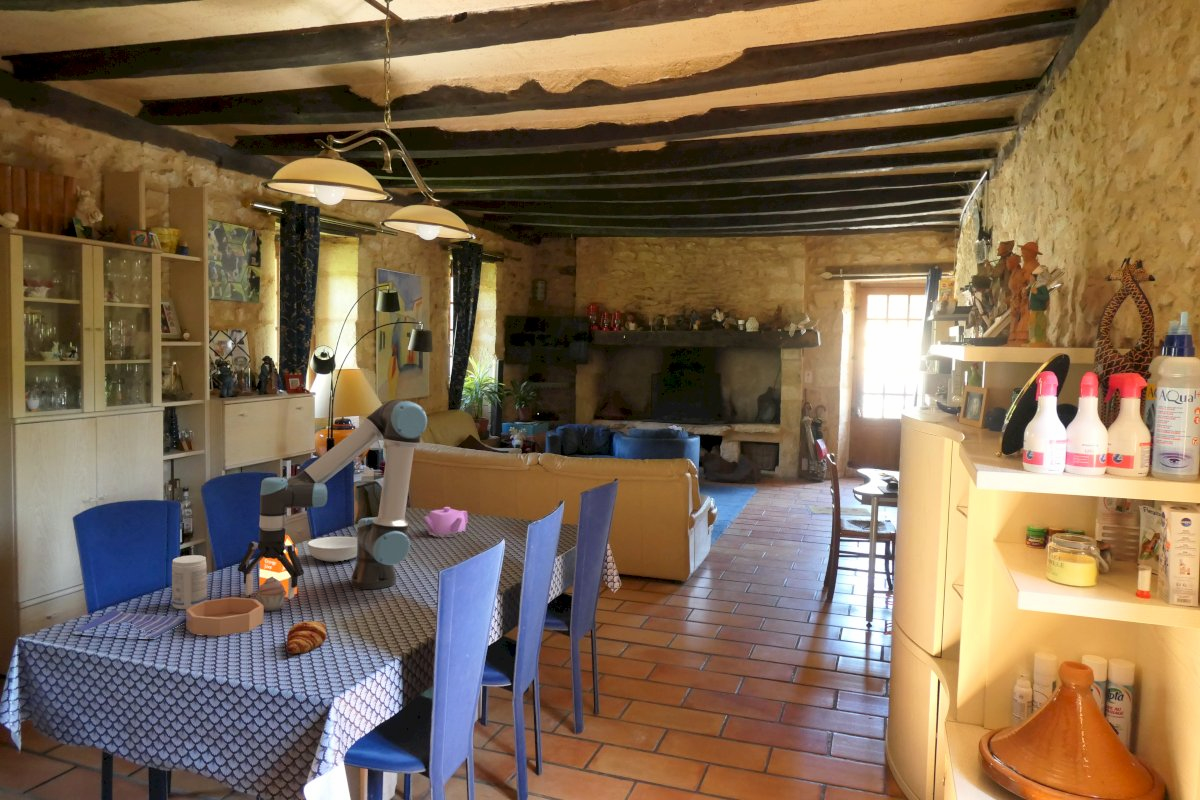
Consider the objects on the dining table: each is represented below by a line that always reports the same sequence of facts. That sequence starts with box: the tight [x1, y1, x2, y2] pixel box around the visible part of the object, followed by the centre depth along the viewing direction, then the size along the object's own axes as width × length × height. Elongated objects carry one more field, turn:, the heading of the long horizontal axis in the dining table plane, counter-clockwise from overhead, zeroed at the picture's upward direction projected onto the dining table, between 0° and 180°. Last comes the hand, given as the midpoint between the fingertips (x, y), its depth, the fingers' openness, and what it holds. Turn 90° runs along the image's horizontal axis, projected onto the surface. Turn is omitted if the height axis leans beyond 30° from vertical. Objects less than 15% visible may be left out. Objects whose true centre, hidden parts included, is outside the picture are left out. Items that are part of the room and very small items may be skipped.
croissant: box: [285, 620, 327, 655], centre depth 223 cm, size 21×10×8 cm, turn 178°
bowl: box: [185, 596, 264, 637], centre depth 235 cm, size 19×19×5 cm
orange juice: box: [259, 534, 299, 598], centre depth 266 cm, size 8×9×20 cm
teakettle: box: [423, 506, 469, 535], centre depth 362 cm, size 17×17×12 cm
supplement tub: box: [171, 554, 208, 610], centre depth 251 cm, size 10×10×15 cm
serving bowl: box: [307, 536, 357, 563], centre depth 313 cm, size 21×21×7 cm
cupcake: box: [254, 576, 287, 612], centre depth 252 cm, size 9×9×10 cm
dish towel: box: [75, 609, 186, 638], centre depth 230 cm, size 17×24×3 cm
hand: (269, 596), depth 252 cm, fingers open, 13 cm apart
